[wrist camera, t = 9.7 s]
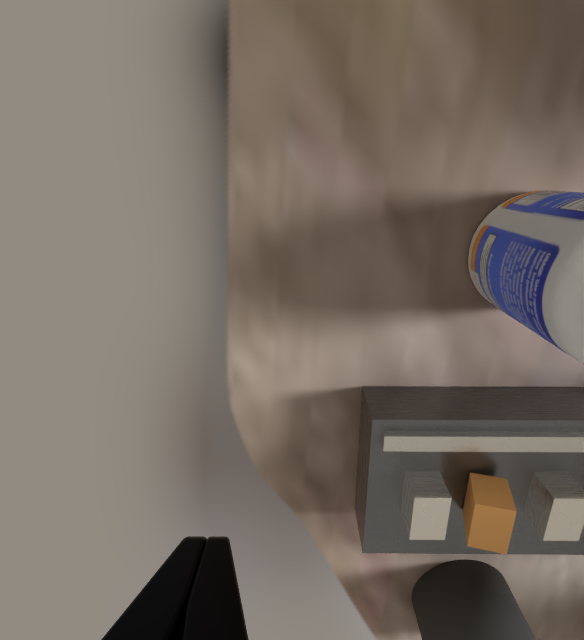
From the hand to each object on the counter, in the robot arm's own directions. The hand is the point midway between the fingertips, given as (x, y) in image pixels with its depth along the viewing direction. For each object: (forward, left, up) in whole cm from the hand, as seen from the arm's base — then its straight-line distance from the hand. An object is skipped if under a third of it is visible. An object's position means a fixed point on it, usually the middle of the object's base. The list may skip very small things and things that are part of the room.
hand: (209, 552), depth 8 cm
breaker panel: (-14, -3, -13) cm, 19 cm away
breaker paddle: (-13, -2, -10) cm, 16 cm away
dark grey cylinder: (-22, +5, -13) cm, 26 cm away
